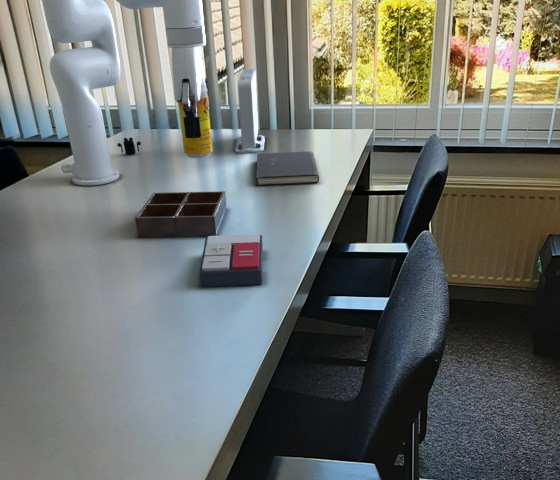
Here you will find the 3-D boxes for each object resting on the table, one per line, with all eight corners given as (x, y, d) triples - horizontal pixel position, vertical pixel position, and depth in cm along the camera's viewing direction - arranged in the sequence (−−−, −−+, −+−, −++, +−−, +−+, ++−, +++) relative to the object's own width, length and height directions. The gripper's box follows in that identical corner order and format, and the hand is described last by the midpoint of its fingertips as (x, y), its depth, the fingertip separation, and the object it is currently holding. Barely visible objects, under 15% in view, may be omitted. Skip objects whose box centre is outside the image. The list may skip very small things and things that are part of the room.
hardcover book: (256, 186, 159) (256, 177, 157) (257, 161, 178) (257, 153, 176) (319, 183, 158) (319, 174, 157) (313, 159, 178) (313, 151, 176)
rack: (138, 237, 132) (134, 218, 129) (155, 210, 146) (153, 192, 143) (216, 236, 130) (214, 216, 128) (226, 209, 144) (225, 191, 142)
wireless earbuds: (142, 153, 191) (139, 136, 188) (142, 155, 189) (139, 137, 186) (119, 154, 190) (116, 137, 188) (118, 156, 188) (115, 139, 185)
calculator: (198, 268, 108) (205, 232, 120) (201, 290, 111) (207, 253, 123) (261, 266, 108) (261, 230, 120) (262, 287, 110) (263, 251, 123)
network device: (262, 154, 184) (259, 81, 173) (233, 155, 184) (227, 82, 173) (265, 134, 205) (262, 68, 194) (239, 135, 205) (234, 69, 194)
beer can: (208, 159, 131) (200, 81, 122) (180, 158, 132) (171, 81, 123) (216, 151, 135) (209, 76, 127) (189, 151, 137) (181, 76, 128)
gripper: (175, 33, 129) (186, 125, 139) (157, 43, 114) (170, 144, 124) (211, 32, 128) (219, 124, 138) (197, 41, 114) (207, 143, 124)
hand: (196, 132), depth 131 cm, fingers closed on beer can, 6 cm apart
